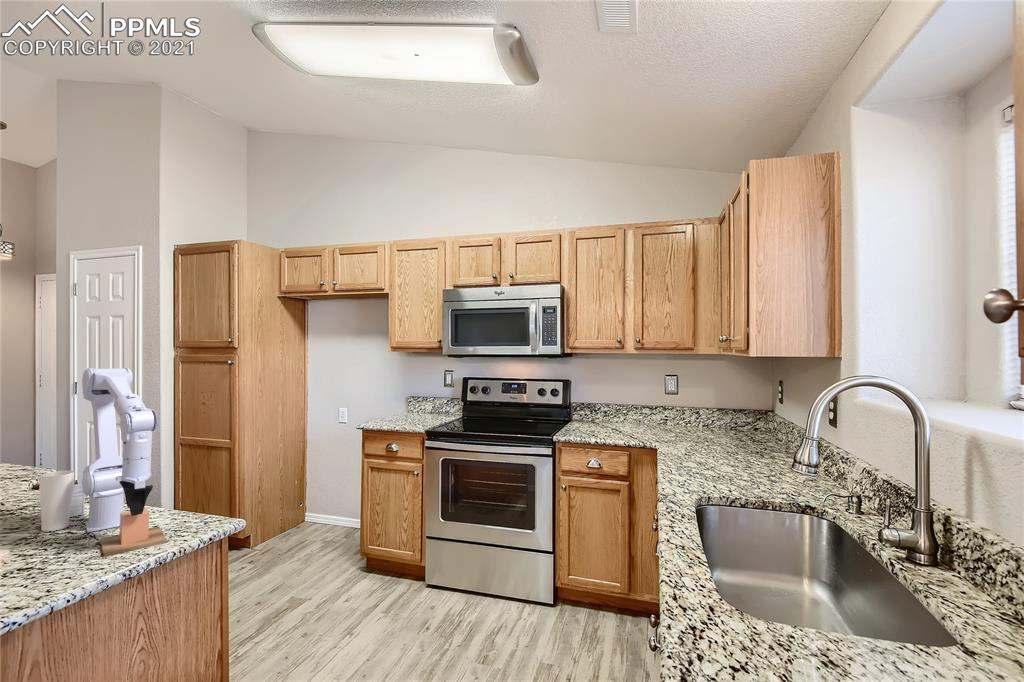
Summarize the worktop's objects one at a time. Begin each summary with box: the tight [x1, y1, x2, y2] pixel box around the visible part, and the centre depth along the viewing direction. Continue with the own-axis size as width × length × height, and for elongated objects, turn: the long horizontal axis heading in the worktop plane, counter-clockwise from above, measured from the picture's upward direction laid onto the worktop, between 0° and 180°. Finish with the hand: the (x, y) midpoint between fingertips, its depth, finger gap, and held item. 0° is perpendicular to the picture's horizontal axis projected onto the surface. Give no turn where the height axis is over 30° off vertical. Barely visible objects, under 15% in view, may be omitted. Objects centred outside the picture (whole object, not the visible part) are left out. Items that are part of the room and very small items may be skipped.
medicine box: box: [69, 483, 86, 518], centre depth 132 cm, size 8×4×9 cm, turn 141°
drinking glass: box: [38, 470, 75, 533], centre depth 124 cm, size 7×7×15 cm
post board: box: [99, 526, 168, 558], centre depth 116 cm, size 12×12×5 cm
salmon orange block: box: [118, 507, 150, 545], centre depth 116 cm, size 5×5×7 cm
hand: (134, 510), depth 116 cm, fingers open, 7 cm apart
